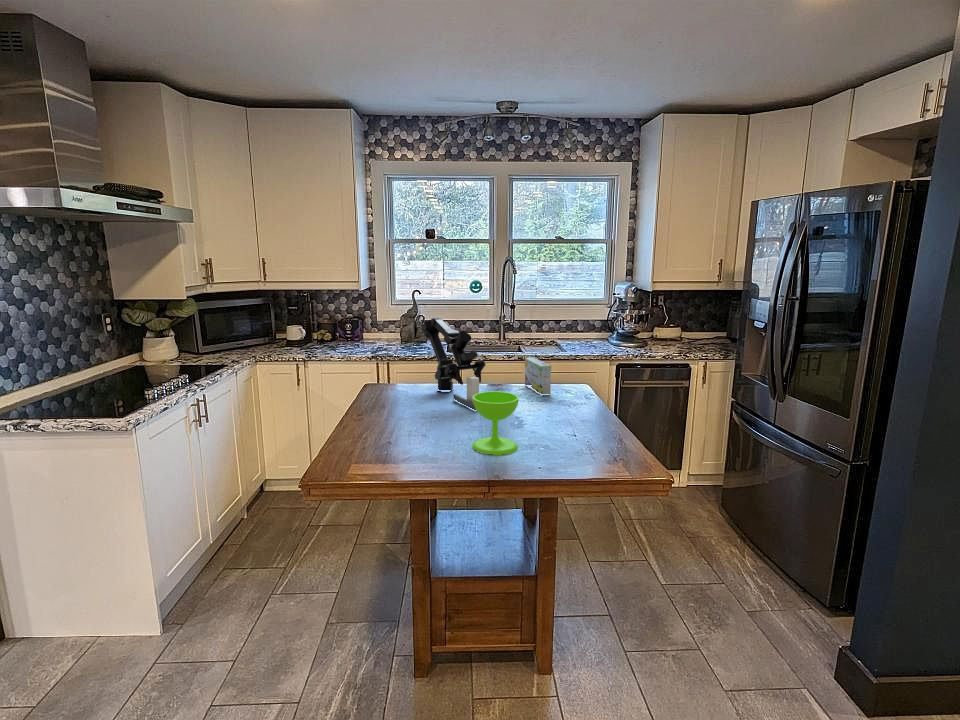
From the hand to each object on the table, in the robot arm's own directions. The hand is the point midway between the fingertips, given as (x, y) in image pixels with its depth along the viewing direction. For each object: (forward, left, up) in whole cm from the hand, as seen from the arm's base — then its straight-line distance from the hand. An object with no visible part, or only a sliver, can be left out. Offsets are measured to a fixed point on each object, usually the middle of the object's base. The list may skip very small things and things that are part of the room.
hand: (471, 383), depth 234 cm
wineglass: (+27, -47, -10) cm, 55 cm away
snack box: (+21, +35, -10) cm, 42 cm away
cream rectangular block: (+1, -1, -9) cm, 9 cm away
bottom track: (+1, -1, -10) cm, 10 cm away
